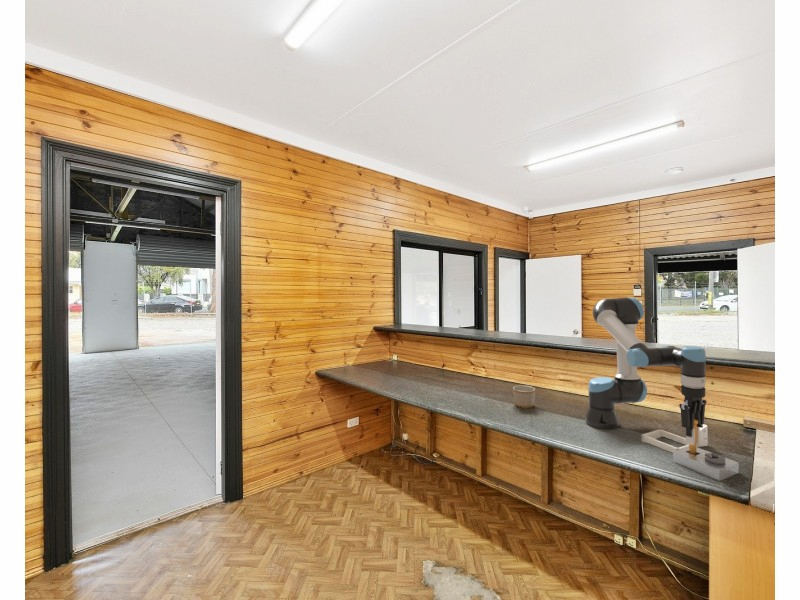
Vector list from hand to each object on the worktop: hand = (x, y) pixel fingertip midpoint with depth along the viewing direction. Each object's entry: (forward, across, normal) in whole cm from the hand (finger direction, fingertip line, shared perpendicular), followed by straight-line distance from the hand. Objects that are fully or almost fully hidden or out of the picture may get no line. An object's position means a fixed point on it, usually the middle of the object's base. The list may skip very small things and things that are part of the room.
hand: (692, 442), depth 147 cm
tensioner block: (+9, 0, -4) cm, 10 cm away
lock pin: (+5, 0, 0) cm, 5 cm away
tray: (+9, +7, +14) cm, 18 cm away
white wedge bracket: (+9, +18, +8) cm, 21 cm away
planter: (+10, -12, +84) cm, 86 cm away
